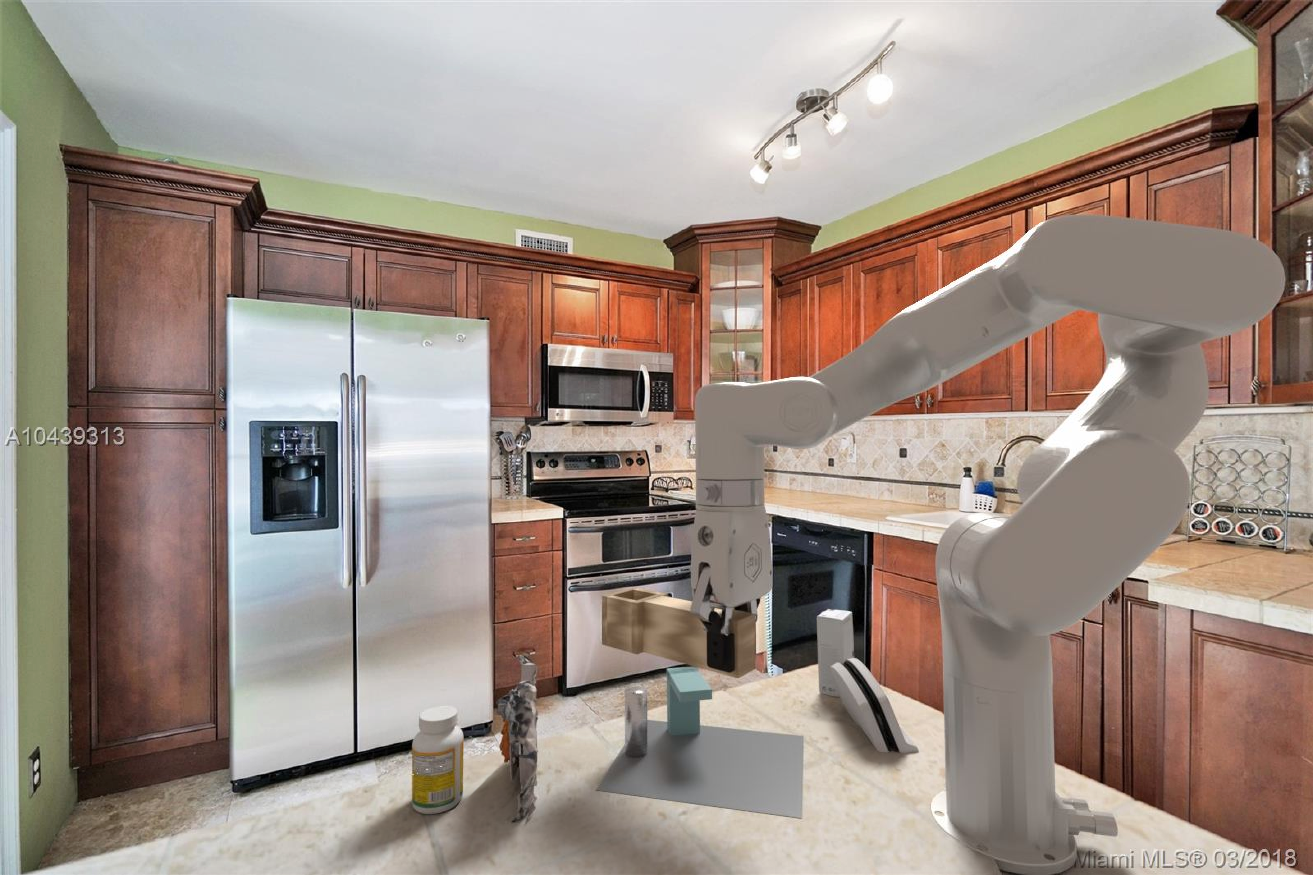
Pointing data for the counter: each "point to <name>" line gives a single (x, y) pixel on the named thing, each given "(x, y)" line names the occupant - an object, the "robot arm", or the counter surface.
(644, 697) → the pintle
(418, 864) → the counter surface
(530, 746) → the meal
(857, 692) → the white slotted curved device
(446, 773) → the supplement bottle
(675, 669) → the bracket
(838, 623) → the skincare box
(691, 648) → the wooden block with hole
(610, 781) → the plate
